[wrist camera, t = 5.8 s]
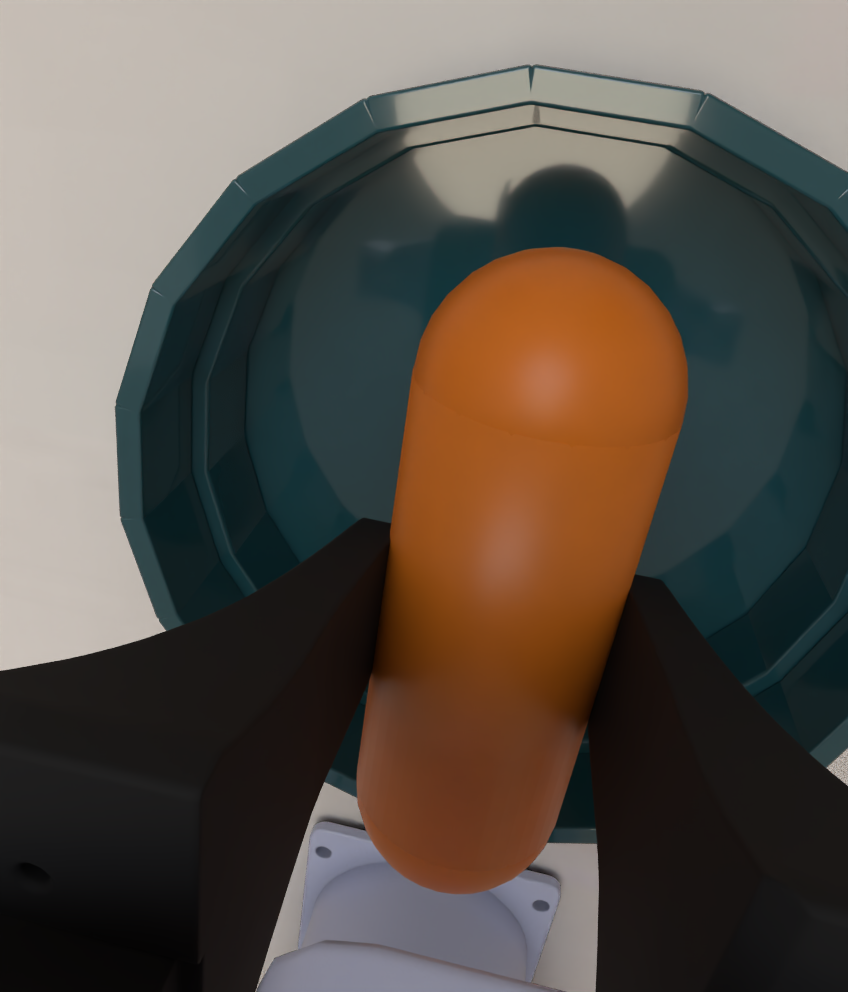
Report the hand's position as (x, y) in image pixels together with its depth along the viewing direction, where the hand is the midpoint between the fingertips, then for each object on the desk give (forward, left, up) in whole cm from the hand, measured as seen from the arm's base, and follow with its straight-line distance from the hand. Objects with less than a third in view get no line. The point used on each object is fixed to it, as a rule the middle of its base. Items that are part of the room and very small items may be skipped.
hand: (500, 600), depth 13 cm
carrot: (0, 0, -1) cm, 1 cm away
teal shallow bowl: (0, 0, -7) cm, 7 cm away
